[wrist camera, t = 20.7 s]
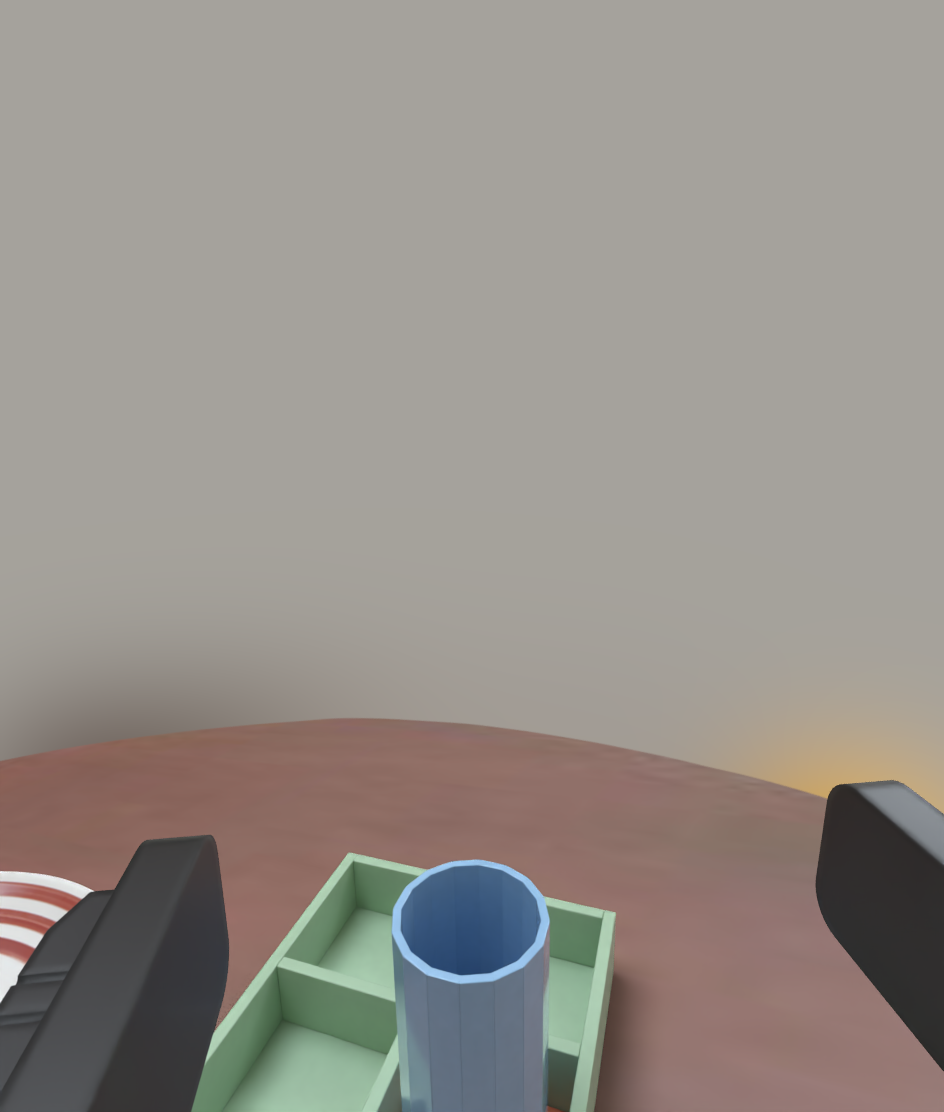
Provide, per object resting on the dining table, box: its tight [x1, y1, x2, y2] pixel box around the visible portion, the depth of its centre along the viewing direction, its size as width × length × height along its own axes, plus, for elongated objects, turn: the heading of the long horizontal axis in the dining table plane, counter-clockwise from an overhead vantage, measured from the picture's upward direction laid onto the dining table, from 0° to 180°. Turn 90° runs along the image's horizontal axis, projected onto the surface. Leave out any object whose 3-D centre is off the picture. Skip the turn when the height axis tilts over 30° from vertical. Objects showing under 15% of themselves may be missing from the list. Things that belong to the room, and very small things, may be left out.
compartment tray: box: [191, 853, 616, 1112], centre depth 29 cm, size 15×15×4 cm
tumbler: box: [391, 860, 550, 1112], centre depth 23 cm, size 5×5×12 cm
